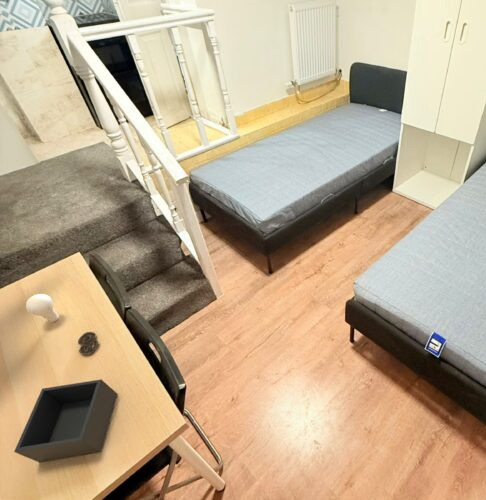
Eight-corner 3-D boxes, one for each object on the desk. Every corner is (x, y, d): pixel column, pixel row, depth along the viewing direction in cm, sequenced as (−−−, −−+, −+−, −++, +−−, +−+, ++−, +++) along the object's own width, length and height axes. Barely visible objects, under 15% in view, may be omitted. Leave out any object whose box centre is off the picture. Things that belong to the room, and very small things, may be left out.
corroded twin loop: (96, 330, 100) (94, 328, 99) (101, 349, 95) (99, 348, 94) (77, 339, 98) (75, 337, 97) (82, 359, 93) (80, 357, 92)
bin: (39, 462, 75) (13, 451, 69) (62, 402, 85) (42, 388, 79) (101, 452, 76) (81, 440, 70) (117, 393, 86) (101, 379, 80)
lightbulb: (64, 308, 106) (43, 286, 98) (68, 320, 103) (47, 298, 95) (42, 319, 103) (19, 297, 96) (46, 332, 100) (22, 310, 92)
